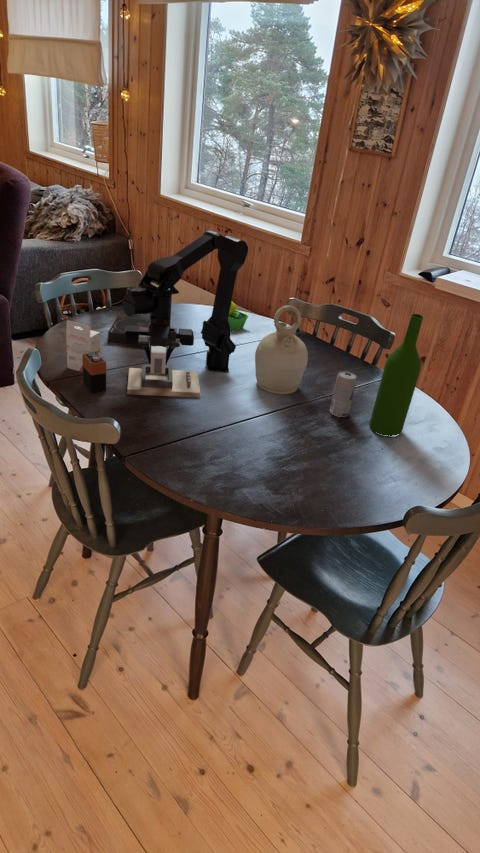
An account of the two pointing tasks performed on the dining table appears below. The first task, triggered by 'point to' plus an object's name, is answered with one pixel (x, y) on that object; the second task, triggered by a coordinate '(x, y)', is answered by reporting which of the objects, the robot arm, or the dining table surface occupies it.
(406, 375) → the wine bottle
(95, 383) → the battery
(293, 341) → the jug
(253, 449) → the dining table surface
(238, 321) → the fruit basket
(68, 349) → the ink cartridge box
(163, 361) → the plug
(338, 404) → the energy drink
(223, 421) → the dining table surface
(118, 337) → the portable cd player
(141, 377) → the header board
